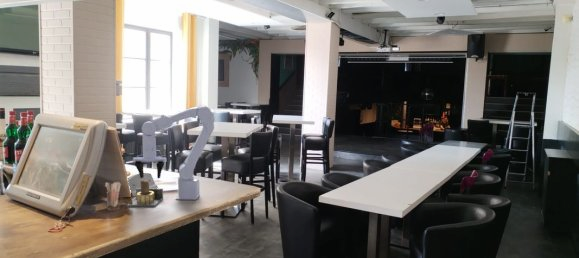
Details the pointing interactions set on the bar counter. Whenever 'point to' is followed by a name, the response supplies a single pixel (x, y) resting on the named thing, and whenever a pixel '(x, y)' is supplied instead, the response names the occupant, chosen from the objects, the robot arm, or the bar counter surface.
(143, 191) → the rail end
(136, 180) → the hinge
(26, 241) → the bar counter surface
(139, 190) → the cup bracket
